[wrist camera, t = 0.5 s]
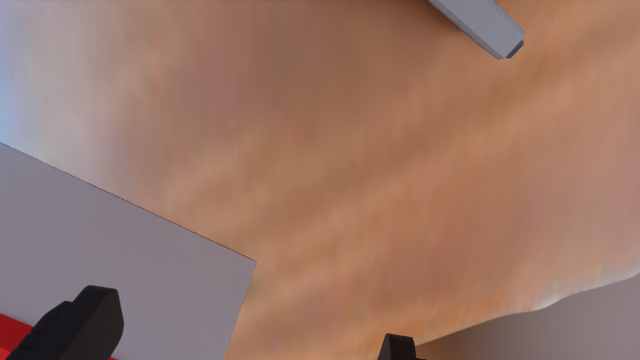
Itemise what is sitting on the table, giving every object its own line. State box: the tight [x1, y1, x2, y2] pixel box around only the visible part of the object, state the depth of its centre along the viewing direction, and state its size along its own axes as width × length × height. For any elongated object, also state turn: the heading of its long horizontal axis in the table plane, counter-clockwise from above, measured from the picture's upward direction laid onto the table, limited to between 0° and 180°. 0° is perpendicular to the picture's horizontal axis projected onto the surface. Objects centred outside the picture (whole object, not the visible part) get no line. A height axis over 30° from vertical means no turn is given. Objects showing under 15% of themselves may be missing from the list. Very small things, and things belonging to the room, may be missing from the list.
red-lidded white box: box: [0, 143, 257, 360], centre depth 41 cm, size 21×35×21 cm, turn 61°
